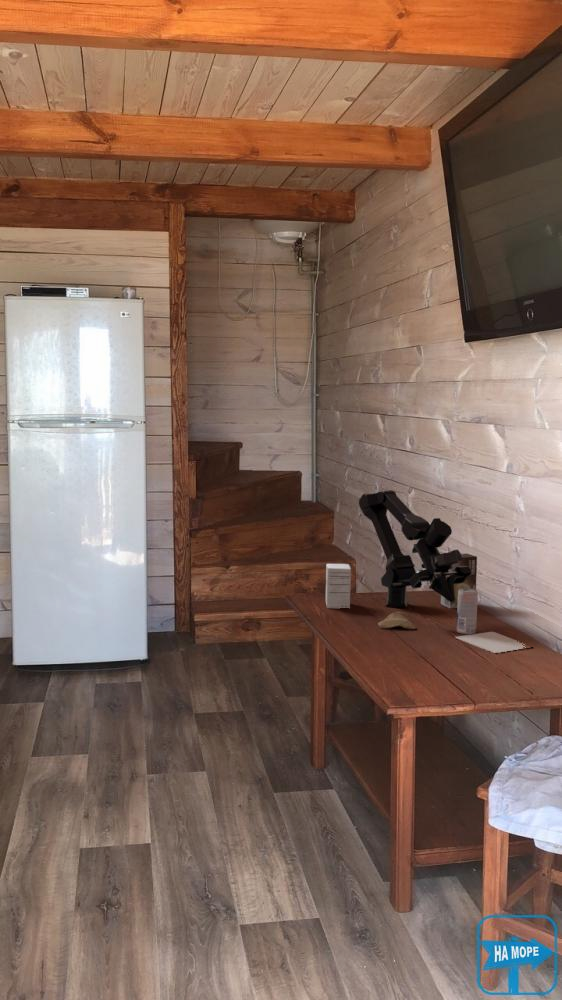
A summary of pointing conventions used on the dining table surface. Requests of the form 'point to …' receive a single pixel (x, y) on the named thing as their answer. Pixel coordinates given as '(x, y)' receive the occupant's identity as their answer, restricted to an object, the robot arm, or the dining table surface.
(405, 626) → the pottery shard
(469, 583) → the coffee box
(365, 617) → the dining table surface
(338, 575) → the supplement box
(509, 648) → the white mat
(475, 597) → the energy drink
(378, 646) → the dining table surface
